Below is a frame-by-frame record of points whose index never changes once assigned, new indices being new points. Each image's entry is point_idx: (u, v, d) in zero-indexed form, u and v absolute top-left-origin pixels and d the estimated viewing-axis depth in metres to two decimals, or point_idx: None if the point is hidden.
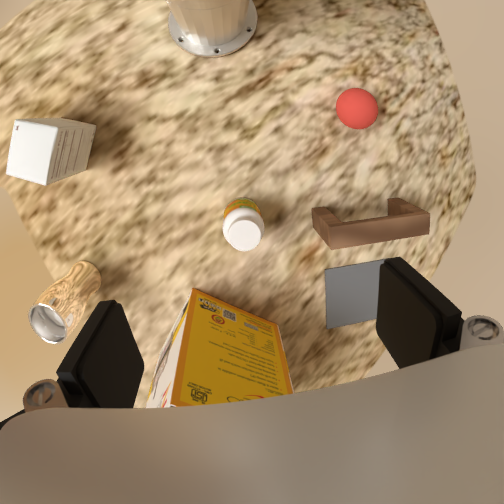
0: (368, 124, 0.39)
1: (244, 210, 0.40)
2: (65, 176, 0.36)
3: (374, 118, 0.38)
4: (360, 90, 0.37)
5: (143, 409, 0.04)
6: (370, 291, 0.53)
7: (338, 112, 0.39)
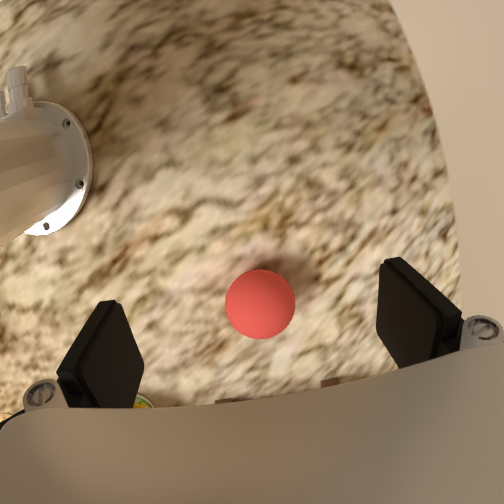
0: None
1: None
2: None
3: (285, 327, 0.26)
4: (259, 287, 0.25)
5: (143, 409, 0.04)
6: None
7: (227, 315, 0.27)
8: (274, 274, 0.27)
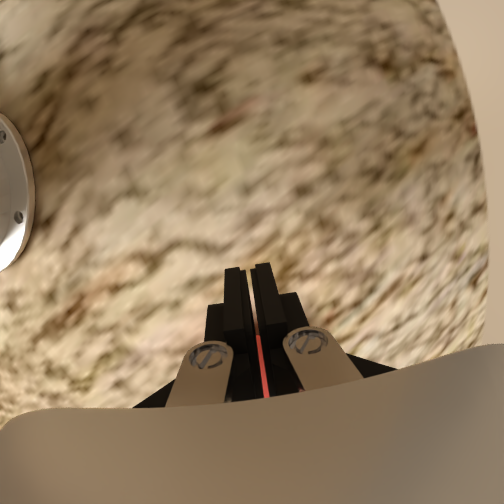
0: None
1: None
2: None
3: None
4: None
5: (143, 409, 0.04)
6: None
7: None
8: None
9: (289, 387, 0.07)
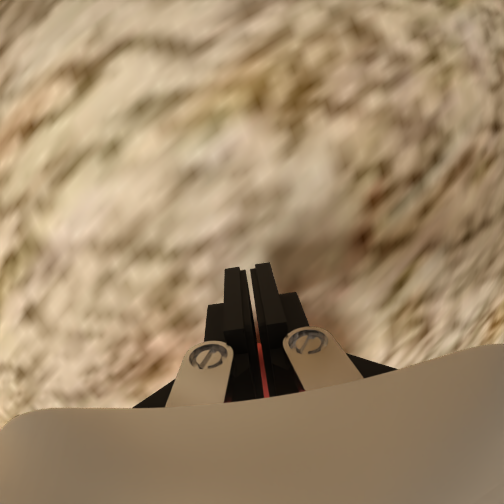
0: None
1: None
2: None
3: None
4: None
5: (143, 409, 0.04)
6: None
7: None
8: None
9: (289, 387, 0.07)
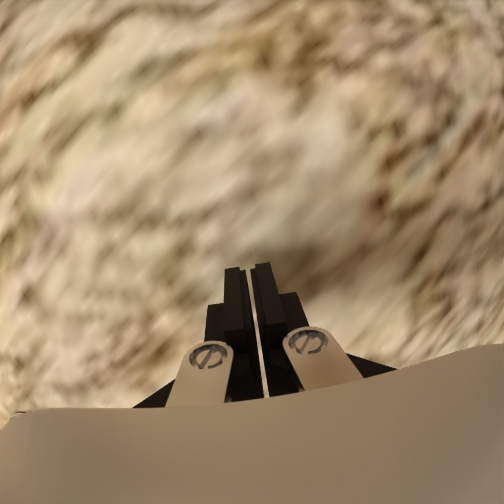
0: None
1: None
2: None
3: None
4: None
5: (143, 409, 0.04)
6: None
7: None
8: None
9: (289, 387, 0.07)
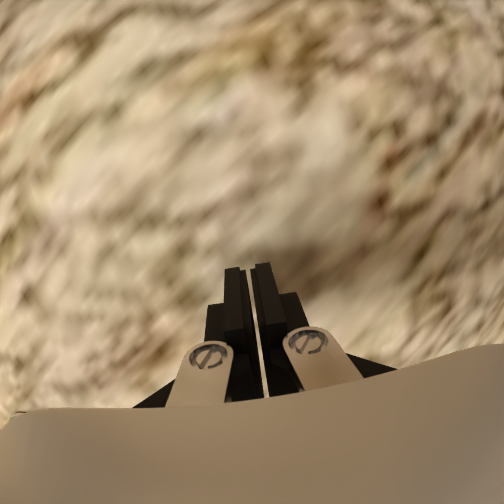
0: None
1: None
2: None
3: None
4: None
5: (143, 409, 0.04)
6: None
7: None
8: None
9: (289, 387, 0.07)
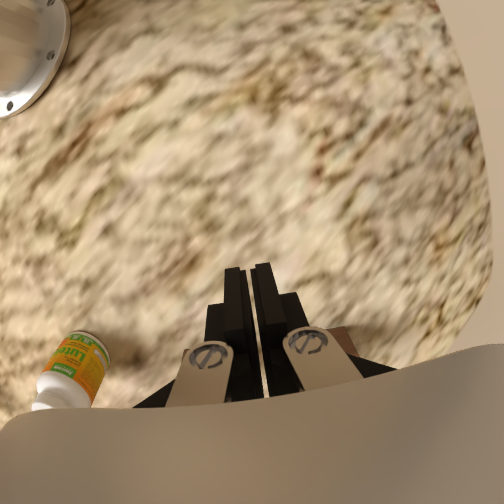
0: None
1: (51, 378, 0.20)
2: None
3: None
4: None
5: (143, 409, 0.04)
6: None
7: None
8: None
9: (289, 387, 0.07)
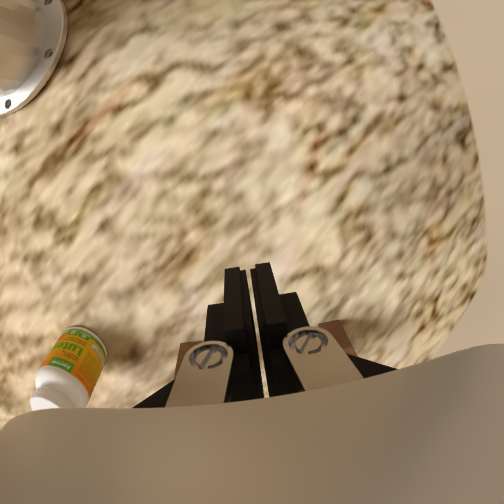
0: None
1: (50, 373, 0.21)
2: None
3: None
4: None
5: (143, 409, 0.04)
6: None
7: None
8: None
9: (289, 387, 0.07)
